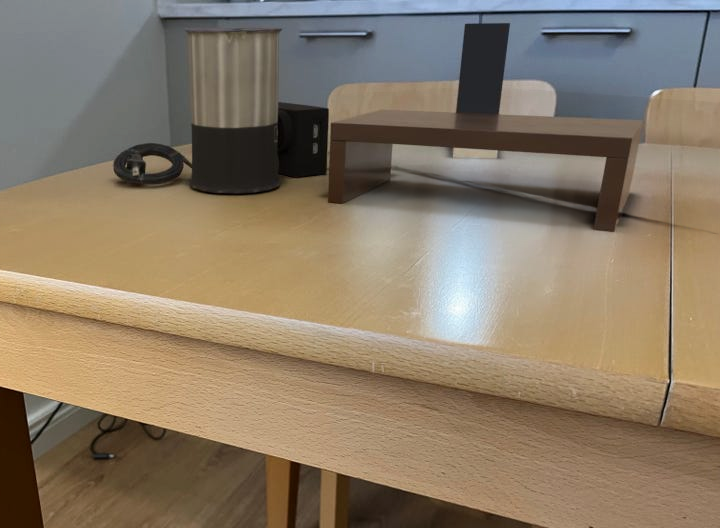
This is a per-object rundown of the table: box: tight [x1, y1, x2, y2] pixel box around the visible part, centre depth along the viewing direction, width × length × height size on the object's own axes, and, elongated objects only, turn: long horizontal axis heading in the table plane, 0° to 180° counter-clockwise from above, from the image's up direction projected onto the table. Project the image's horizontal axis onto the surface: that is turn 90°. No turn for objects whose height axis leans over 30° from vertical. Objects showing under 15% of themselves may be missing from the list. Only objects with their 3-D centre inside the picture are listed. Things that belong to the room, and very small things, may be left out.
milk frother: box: [112, 26, 283, 195], centre depth 74 cm, size 14×16×15 cm
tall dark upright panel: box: [452, 22, 511, 159], centre depth 90 cm, size 11×5×15 cm, turn 166°
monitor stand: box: [327, 109, 644, 232], centre depth 67 cm, size 13×24×7 cm, turn 61°
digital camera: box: [277, 101, 330, 178], centre depth 84 cm, size 10×5×7 cm, turn 31°
